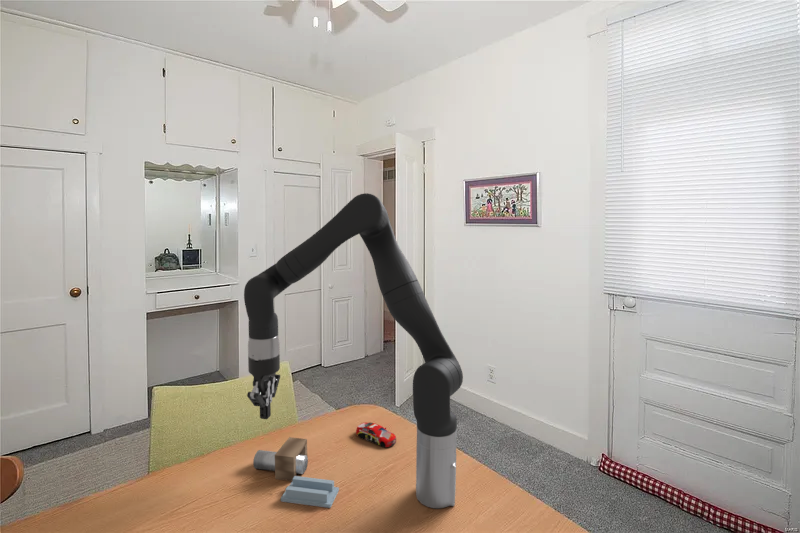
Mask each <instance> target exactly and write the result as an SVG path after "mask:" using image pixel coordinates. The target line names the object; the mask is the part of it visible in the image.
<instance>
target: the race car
mask: <svg viewBox="0 0 800 533" xmlns="http://www.w3.org/2000/svg"><path fill="white" fill-rule="evenodd" d="M355 434H356V436H357V437H358V438H359V439H362V440H365V441H367V442H370V443H373V444H375V445H378V446H380V447H382V448H390V447H393V446H394V445H396V443H397V437H396V434H394V433H392V432H391V431H389V430H388V429H387V427H384V426H382V425H380V424H377V423H375V422H371V421H370V422H361V423H360V424H359V425H357V426H356V430H355Z"/></svg>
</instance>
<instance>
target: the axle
mask: <svg viewBox="0 0 800 533" xmlns="http://www.w3.org/2000/svg"><path fill="white" fill-rule="evenodd" d="M277 452H278V451H270V450H262V449H259V450H257V451H256V453H255V454H254V456H253V468H254V469H257V470H266V471H273V472H275V454H276V453H277ZM308 463H309V459H308V454H307V455H298V456H297V458H296V475H297V474H298V475H304V474H305V472H306V471H307V468H308Z"/></svg>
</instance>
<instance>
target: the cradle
mask: <svg viewBox="0 0 800 533" xmlns="http://www.w3.org/2000/svg"><path fill="white" fill-rule="evenodd" d="M286 486H287V487H286V488H285V491H284V493H283V494H282V495H281V497H280V502H282V503H283V502H284V503H291V504H297V505H305V506H313V507H322V508H328V509H331V508H332V506H333V503H334V502H335V499H336V497H337V495H338V493H339V492H340V491H339V490H340V487H338V486H335V480H334V479H333V480H331V479H323V478H314V477H307V476H299V475H296V476H294V477H293V481H290V483H289V485H286Z"/></svg>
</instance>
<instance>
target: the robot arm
mask: <svg viewBox="0 0 800 533" xmlns="http://www.w3.org/2000/svg"><path fill="white" fill-rule="evenodd" d="M391 224H392V223H391V221H390V218H389V214H388V210H387V208H386V207H385V205H384V204H383V202H382V200H381V199H380V198H378V196H376V195H374V194H373V193H367V192H366V193H365V192H364V193H360V194H358V195H356V196H354V197H353V198H351V200H350V201H348V202H347V204H345V205H344V206H343V207H342V208H341V209H340V210H339V211H338V212H337V213H336V214H335V215H334V216H333V217H332V218H331V219H330V220H329V221H328V222H326V224H324V225H323V226H322V227H321V228H320V229H319V230H317V231H316V232H315V233H313V234H312V235H311V236H310V237H309V238H307V239H306V240H305V241H303V242H302V243H301V244H299V245H298V246H296V247H294V248H293V249H292V250H290V251H288V253H286V254H285V255H283V256H282V257H280V258H279V259H278V260H277V262H276V263H274V264H272V265H271V266H269V267H268V268H267V269H265V270H264V271H261V272H260V273H259V274H257V275H255V276H253V277H251V278H250V279H248V281H247V282H246V284H245V286H244V290H243V299H244V307H245V310H246V315H247V318H248V343H247V358H248V359H247V360H248V364H247V365H248V368H247V369H248V373H249V374H250V375H251V376H252V377H253V380H252V386H253V387H252V390H251V391H248V392H247V394H246V396H247V398H248V399H249V400H250V402H251V403H252V404H253V406H254V407H259V418H260V419H261V420H268V419H269V418H270V417H271V416H272V415H271V412H272V410H271V409H272V408H271V403H272V402H273V398H276V394H277V390H278V386H279V384H280V380H281V374H278V372H279V371H280V370H281V366H280V365H281V362H280V360H281V358H280V356H281V354H280V352H281V351H280V338H279V319H278V315H277V313H276V312H275V303H274V299H275V298H276V297H277V296H278V295H280V294H281V293H283V292H284V291H285V290H286V289H287V288H289V287H290V286H291V285H293V284H295V283H298V281H301V280H302V279H303V278H305V277H307V276H308V275H310V274H311V273H312V272H313V271H315V270H317V269H318V268H319V267H320V266H321V265H322V264H323V263H324V262H325V261H326V260H327V259H328V258H329V257H330V256H331V254H332V253H333V252H334V251H335V250H336V249H337V248H339V247H340V246H341V245H343V244H344V243H345V242H347V241H348V240H350V239H352V238H354V237H356V236H357V235H359V236H360V237H361V239H362V241H363V242H364V245H365V246H366V248H367V250H368V253H369V254H370V257H371V259H372V262H373V267H374V271H375V275H376V279H377V283H378V287H379V289H380V293H381V296H382V297H383V301H384V302H385V305H386V307H387V309H388V312H389V313H390V316H392V318H393V319H394V321H396V323H397V324H399V326H400V327H401V328H402V329H404V331H405V332H406V333H408V334H409V335H410V336H411V338H413V340H414V341H415V343H416V345H417V346H418V349H419V350H420V353H421V355H422V358H423V360H424V363H422V364H421V365H419V366H418V367H417V369H416V370H415V371H414V374H413V379H412V403H413V405H412V406H413V414H414V417H415V420H416V450H415V451H416V455H415V456H416V458H415V459H416V460H415V461H416V465H415V469H416V470H415V472H416V473H415V477H416V480H415V496H416V499H417V501H418V502H419V503H420V504H422V505H423V506H425V507H427V508H431V509H443V508H446V507H447V508H448V507H450V506H451V507H454V506H455V504H456V490H457V489H456V487H457V484H456V481H457V476H456V475H457V436H458V435H457V433H458V432H457V428H458V420H457V419H458V418H457V415H456V414H455V413H454V412H453V410H451V397H452V396H453V395H454V394H455V393H456V392H457V391H458V390H459V389H460V388H461V387H462V385H463V381H464V376H463V375H464V374H463V369H462V367H461V365H460V363H459V361H458V359H457V357H456V355H455V354H454V352H453V350H452V349H451V347H450V345H449V344H448V342H447V340H446V338H445V337H444V334H443V332H442V330H441V328H440V326H439V325H438V322H437V320H436V317H435V316H434V315H435V314H434V313H433V312H432V310H431V307H430V306H429V303H428V301H427V298H426V296H425V293H424V291H423V288H422V286H421V283H420V282H419V280H418V278H417V276H416V274H415V272H414V270H413V268H412V266H411V265H410V263H409V261H408V259H407V258H406V256H405V255H404V253H403V252H402V249H401V248H400V246H399V244H398V241H397V239H396V236H395V233H394V230H393V227H392V225H391Z"/></svg>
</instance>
